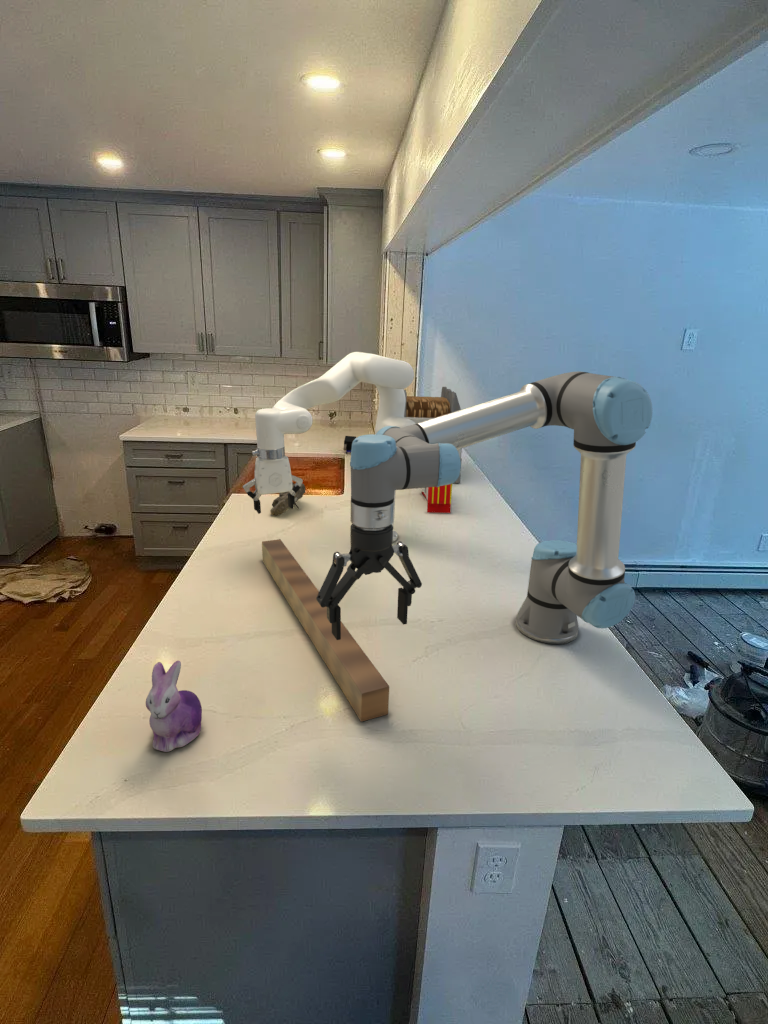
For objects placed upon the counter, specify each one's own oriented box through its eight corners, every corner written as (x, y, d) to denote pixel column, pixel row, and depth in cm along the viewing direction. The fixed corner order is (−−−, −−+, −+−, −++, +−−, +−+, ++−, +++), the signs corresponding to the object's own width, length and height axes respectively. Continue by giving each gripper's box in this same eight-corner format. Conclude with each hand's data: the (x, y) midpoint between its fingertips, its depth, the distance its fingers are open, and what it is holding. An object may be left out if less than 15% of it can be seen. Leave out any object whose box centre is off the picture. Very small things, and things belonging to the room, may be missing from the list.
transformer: (382, 463, 289) (386, 382, 275) (445, 464, 293) (451, 384, 279) (390, 482, 257) (394, 392, 243) (460, 483, 261) (468, 394, 247)
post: (262, 561, 174) (261, 541, 172) (280, 558, 177) (280, 538, 174) (360, 722, 108) (361, 693, 106) (388, 714, 111) (389, 686, 109)
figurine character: (355, 457, 303) (356, 447, 317) (355, 444, 300) (356, 434, 313) (342, 457, 303) (344, 447, 316) (343, 443, 300) (344, 434, 313)
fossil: (276, 488, 229) (303, 468, 224) (291, 505, 232) (319, 486, 227) (260, 511, 209) (290, 490, 204) (277, 530, 212) (307, 510, 207)
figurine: (153, 762, 97) (144, 689, 92) (146, 724, 105) (138, 655, 100) (210, 745, 101) (204, 674, 96) (199, 710, 109) (193, 643, 104)
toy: (446, 469, 247) (456, 480, 217) (444, 499, 249) (454, 514, 220) (418, 468, 246) (425, 479, 217) (416, 499, 249) (423, 513, 219)
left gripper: (243, 459, 153) (248, 518, 159) (304, 453, 160) (307, 509, 166) (237, 453, 159) (242, 509, 166) (297, 446, 166) (299, 501, 173)
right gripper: (310, 542, 91) (313, 653, 99) (443, 521, 102) (437, 624, 109) (297, 526, 98) (300, 632, 105) (423, 508, 108) (418, 606, 115)
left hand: (274, 509), depth 166 cm, fingers open, 9 cm apart
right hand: (369, 628), depth 107 cm, fingers open, 13 cm apart
